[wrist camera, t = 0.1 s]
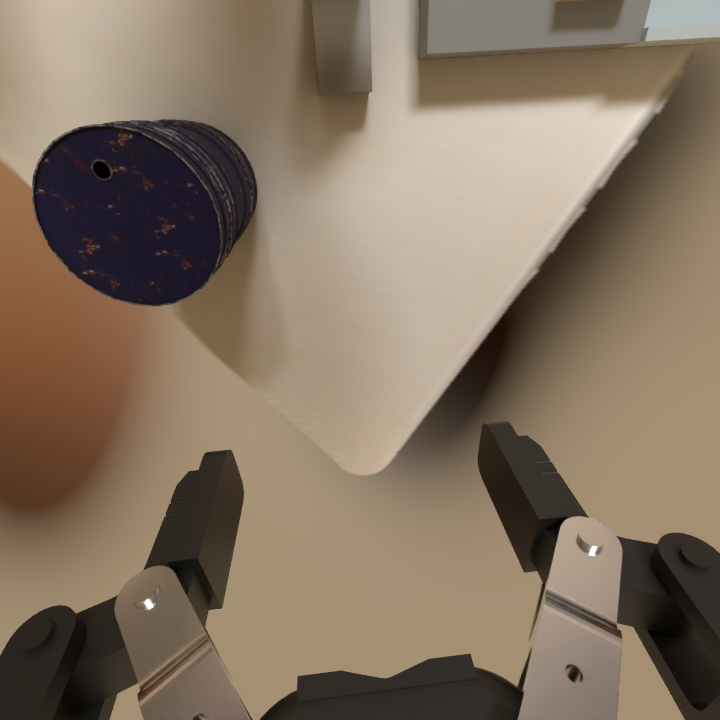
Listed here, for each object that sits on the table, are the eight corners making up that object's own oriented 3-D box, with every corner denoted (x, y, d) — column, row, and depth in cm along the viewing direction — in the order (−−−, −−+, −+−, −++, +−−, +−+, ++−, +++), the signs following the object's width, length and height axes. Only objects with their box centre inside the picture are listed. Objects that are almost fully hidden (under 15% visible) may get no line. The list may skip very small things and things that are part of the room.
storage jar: (274, 228, 37) (250, 286, 24) (174, 254, 37) (99, 325, 25) (231, 104, 32) (172, 96, 19) (116, 136, 32) (-17, 149, 19)
